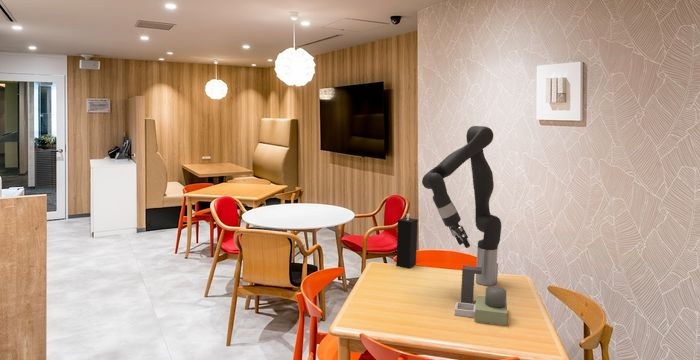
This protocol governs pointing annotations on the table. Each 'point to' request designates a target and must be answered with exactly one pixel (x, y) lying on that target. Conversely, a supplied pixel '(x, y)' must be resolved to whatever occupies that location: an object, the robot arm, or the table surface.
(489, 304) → the green block with cylinder
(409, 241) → the black upright block
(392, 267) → the table surface
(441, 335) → the table surface
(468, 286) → the dark grey angled block
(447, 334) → the table surface
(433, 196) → the robot arm
